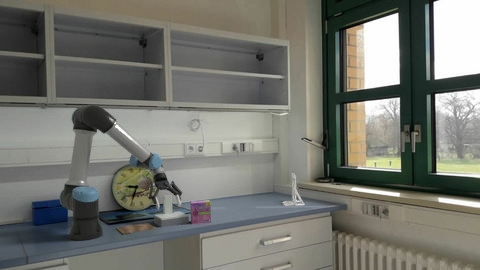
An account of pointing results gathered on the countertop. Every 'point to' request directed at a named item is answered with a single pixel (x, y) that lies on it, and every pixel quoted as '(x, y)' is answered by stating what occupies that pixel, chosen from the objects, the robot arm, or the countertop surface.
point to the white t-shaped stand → (169, 210)
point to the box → (200, 212)
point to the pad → (135, 228)
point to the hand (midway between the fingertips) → (169, 206)
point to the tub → (171, 221)
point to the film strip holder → (293, 194)
